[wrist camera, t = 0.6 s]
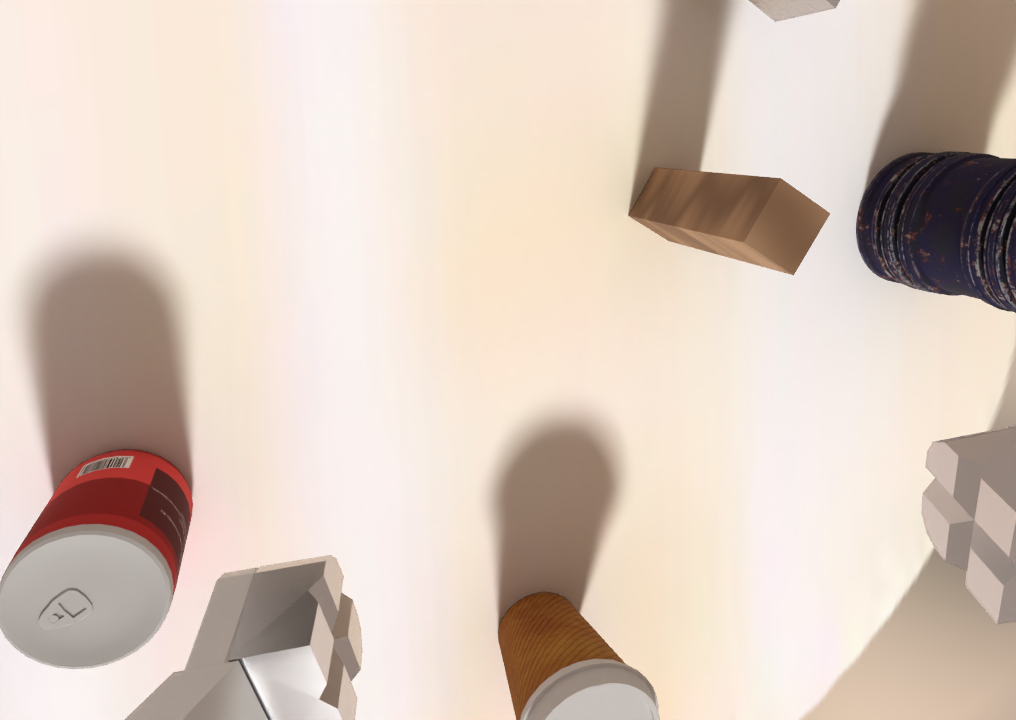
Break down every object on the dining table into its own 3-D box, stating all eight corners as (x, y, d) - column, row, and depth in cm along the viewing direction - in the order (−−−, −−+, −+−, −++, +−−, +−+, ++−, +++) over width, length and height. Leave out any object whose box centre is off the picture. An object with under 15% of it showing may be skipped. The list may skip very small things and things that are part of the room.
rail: (669, 241, 53) (793, 275, 40) (628, 215, 52) (743, 242, 39) (695, 194, 53) (830, 213, 40) (655, 167, 52) (781, 178, 39)
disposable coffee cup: (462, 678, 58) (505, 806, 47) (496, 565, 57) (549, 670, 46) (575, 686, 62) (640, 807, 50) (611, 579, 60) (687, 681, 49)
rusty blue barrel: (947, 126, 57) (1161, 123, 43) (978, 242, 61) (1184, 274, 47) (838, 192, 56) (1020, 211, 42) (875, 307, 60) (1055, 359, 46)
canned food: (26, 518, 47) (-44, 624, 37) (113, 419, 47) (67, 499, 36) (138, 582, 50) (101, 697, 40) (220, 489, 50) (204, 581, 39)
